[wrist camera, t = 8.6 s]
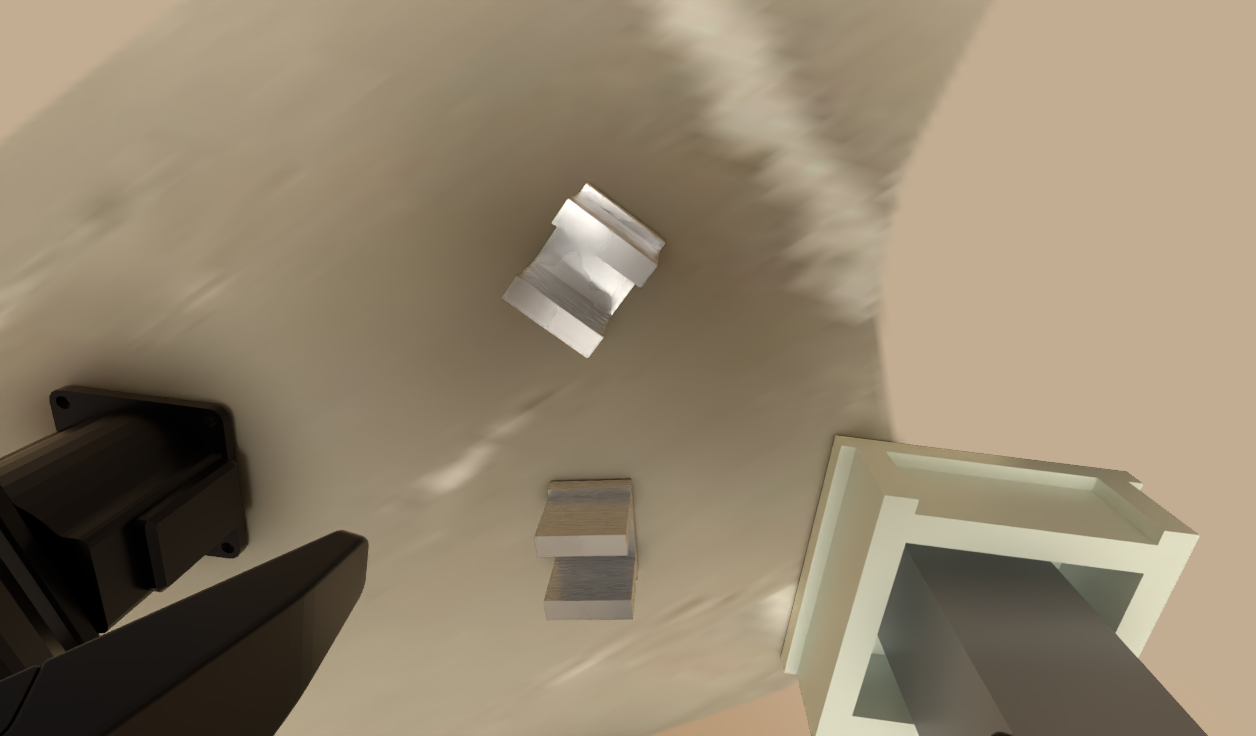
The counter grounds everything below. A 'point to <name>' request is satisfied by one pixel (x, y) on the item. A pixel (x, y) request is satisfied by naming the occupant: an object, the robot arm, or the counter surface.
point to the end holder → (965, 520)
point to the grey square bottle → (1013, 653)
